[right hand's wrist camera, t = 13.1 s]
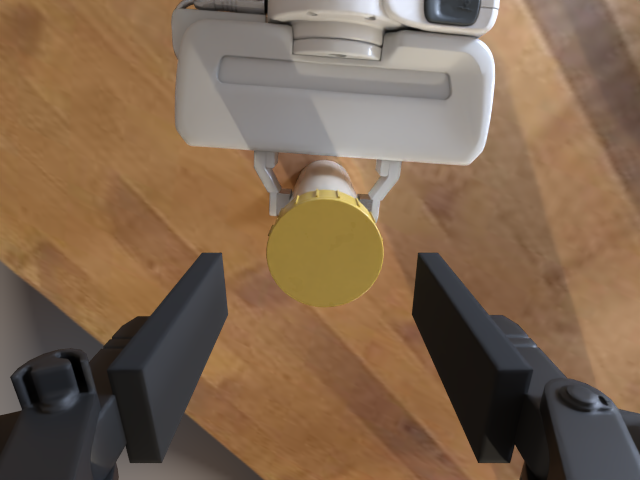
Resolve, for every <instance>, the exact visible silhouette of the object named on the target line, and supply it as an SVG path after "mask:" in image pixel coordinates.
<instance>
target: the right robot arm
mask: <svg viewBox="0 0 640 480" xmlns="http://www.w3.org/2000/svg"><path fill="white" fill-rule="evenodd" d="M227 316H228V309H227V299H226V289H225V279H224V270H223V260H222V253H202V254H201V255H200V256H199V257H198V258H197V260H196V261H195V262H194V263H193V265H192V266H191V267H190V268H189V269H188V271H187V272H186V273H185V274H184V276H183V277H182V278H181V279H180V280H179V282H178V283H177V284H176V285H175V287H174V288H173V289H172V290H171V291H170V293H169V294H168V295H167V296H166V298H165V299H164V300H163V301H162V302H161V304H160V305H159V306H158V307H157V309H156V310H155V311H154V312H153V313H152V315H151V316H137V317H136V318H134V319H133V320H131V321H129V322H128V323H126V324H125V325H123V326H122V327H121V328H120V329H119V330H118V331H117V332H116V333H115V334H114V336H113V337H112V339H110V340H109V341H108V342H107V343H106V344H105V345H104V348H103V349H101V350H100V351H99V352H98V353H97V354H96V355H95V356H94V357H93V359H92V360H91V361H90V362H89V361H88V357H87V354H86V353H85V352H83V351H82V350H79V349H72V348H70V349H60V350H56V351H52V352H49V353H45V354H42V355H40V356H38V357H36V358H34V359H32V360H30V361H28V362H27V363H25V364H24V365H22V366H21V367H19V368H18V369H17V370H16V371H15V372H14V373H13V375H12V376H11V377H10V378H11V380H12V383H13V386H14V389H15V391H16V394H17V397H18V399H19V402H20V405H21V408H22V411H18V412H14V413H9V414H5V415H0V480H118V478H119V476H118V469H117V465H116V461H117V459H118V457H119V456H120V454H121V452H122V450H123V449H124V447H125V445H126V449H127V453H128V457H129V461H130V463H162V461H163V459H164V457H165V454H166V452H167V450H168V448H169V445H170V443H171V441H172V439H173V436H174V434H175V432H176V430H177V428H178V425H179V423H180V421H181V419H182V416H183V414H184V412H185V410H186V407H187V405H188V403H189V401H190V398H191V396H192V394H193V392H194V390H195V387H196V385H197V383H198V381H199V378H200V376H201V374H202V372H203V369H204V367H205V365H206V363H207V360H208V358H209V356H210V354H211V351H212V349H213V347H214V345H215V343H216V340H217V338H218V336H219V334H220V331H221V329H222V327H223V325H224V322H225V320H226V318H227ZM412 316H413V318H414V320H415V322H416V325H417V327H418V329H419V331H420V334H421V336H422V338H423V340H424V343H425V345H426V347H427V349H428V351H429V354H430V356H431V358H432V360H433V363H434V365H435V367H436V369H437V372H438V374H439V376H440V378H441V381H442V383H443V385H444V387H445V390H446V392H447V394H448V396H449V398H450V401H451V403H452V405H453V407H454V410H455V412H456V414H457V416H458V419H459V421H460V423H461V425H462V428H463V430H464V432H465V434H466V437H467V439H468V441H469V443H470V445H471V448H472V450H473V452H474V454H475V457H476V459H477V461H478V463H510V461H511V457H512V453H513V449H514V445H516V447H517V449H518V450H519V452H520V454H521V456H522V457H523V459H524V465H523V468H522V472H521V476H520V480H640V414H638V413H634V412H629V411H625V410H621V409H618V408H617V407H616V406H615V404H614V403H613V401H612V400H611V399H610V398H608V397H607V396H606V395H605V394H603V393H602V392H601V391H599V390H597V389H596V388H594V387H592V386H590V385H588V384H586V383H583V382H580V381H576V380H573V379H567V378H566V377H565V375H564V374H563V373H562V372H561V371H560V370H559V369H558V368H557V367H556V366H555V365H554V363H553V362H552V361H551V360H550V359H549V358H548V357H547V356H546V355H545V354H544V353H543V351H542V350H541V349H540V348H537V345H536V344H535V343H534V342H533V341H532V339H531V338H528V335H527V334H526V333H525V332H524V331H523V330H522V329H521V327H520V326H519V325H518V324H516V323H514V322H513V321H511V320H510V319H508V318H506V317H505V316H503V315H488V313H487V312H486V311H485V310H484V309H483V307H482V306H481V305H480V304H479V302H478V301H477V300H476V299H475V298H474V296H473V295H472V294H471V293H470V291H469V290H468V289H467V288H466V287H465V285H464V284H463V283H462V282H461V280H460V279H459V278H458V277H457V276H456V274H455V273H454V272H453V271H452V269H451V268H450V267H449V266H448V265H447V263H446V262H445V261H444V260H443V258H442V257H441V256H440V255H439V254H438V253H418V260H417V270H416V279H415V289H414V299H413V309H412Z"/></svg>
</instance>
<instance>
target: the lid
mask: <svg viewBox="0 0 640 480" xmlns="http://www.w3.org/2000/svg"><path fill="white" fill-rule="evenodd" d="M375 222H376V221H375V219H374V217H373V215H372V213H371V212H368V210H367V209H366V208H365V207H364V205H363V204H361V203H360V202H359V201H358V198H353V197H352V196H350V195H348V194H345V193H343V192H339V190H337V191H335V190H318V189H316V190H315V191H310V192H307V193H304V194H302V195H300V196H298V195H297V196H296V198H295V199H293V200H292V201H290V202H289V203H288V204H287V205H286V206H285V207H284V208H281V210H280V213H279V215H278V217H277V219H276V222H275V224H274V225H272V227H271V229H270V232H269V234H268V236H269V239H268V243H267V250H266V252H267V254H266V256H267V263H268V267H269V270H270V273H271V275H272V277H273V279H274V280H275V282H276V284H277V285H278V286H279V287H280V288H281V289H282V290H283V291H284V292H285V293H286V294H287V295H289V296H290V297H291V298H293V299H295V300H297V301H299V302H301V303H303V304H306V305H310V306H315V307H335V306H340V305H343V304H346V303H349V302H351V301H353V300H355V299H357V298H358V297H360V296H361V295H363V294H364V293H365V292H366V291H367V290H368V289H369V288H370V287H371V286H372V284H373V283H374V282H375V280H376V278H377V277H378V275H379V272H380V270H381V267H382V263H383V255H384V254H383V243H382V241H383V239H382V237H381V234H380V232H379V230H378V229H377V227H376V224H375Z"/></svg>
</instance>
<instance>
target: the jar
mask: <svg viewBox="0 0 640 480" xmlns="http://www.w3.org/2000/svg"><path fill="white" fill-rule="evenodd" d="M316 189H318V190H335V191H337V190H339V192H343V193H345V194H348V195H350V196H352V197H353V198H358V197H357V195H356V192H355V190H354V188H353V185H352V183H351V180H350V178H349V175H348V173H347V172H346V170H345V169H344V168H343V167H342V166H340V165H339V164H337V163H335V162H333V161H329V160H319V161H315V162H312V163H310V164H309V165H307V166H306V167H305V168H304V169H303V170H302V171H301V173H300V175H299V177H298V179H297V182H296V185H295V188H294V190H293V193H292V196H291V199H290V201H292V200H293V199H295V198H296V196H297V195H298V196H300V195H302V194H304V193H307V192H310V191H315V190H316ZM290 201H289V202H290ZM358 201H359V200H358Z"/></svg>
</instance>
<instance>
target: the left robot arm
mask: <svg viewBox="0 0 640 480" xmlns="http://www.w3.org/2000/svg"><path fill="white" fill-rule="evenodd" d="M193 4H194V6H195V8H196V9H198V10H196V9H185V8H187V7H188V6H190V5H193ZM498 9H499V0H182V1H181V2H180V3H179V4H178V5H177V7H176V8H175V10H174V11H173V14H172V20H171V24H172V40H173V48H174V52H175V55H176V57H177V59H178V64H177V74H176V87H175V126H176V130H177V132H178V133H179V134H180V136H181V137H182V138H183V140H184V141H185V142H186V143H187V144H188V145H190V146H200V147H214V148H227V149H241V150H254V168H255V170H256V172H257V174H258V175H259V177H260V179H261V181H262V183H263V184H264V186H265V188H266V190H267V191H268V192H269V193H270V205H269V213H270V216H278V215H279V213H280V210H281V208H284V207H285V206H286V205H287V204H288V203H289V201H290V199H291V196H292V189H284V188H281V186H280V184H279V182H278V180H277V178H276V176H275V174H274V172H273V170H272V168H274V166H275V165H276V164H277V163H278V152H283V153H297V154H311V155H325V156H338V157H352V158H366V159H377V161H376V171H377V172H378V173H379V174H380V175H381V176H380V178H379V179H378V180H377V182H376V183H375V185H374V186H373V187H372V189H371V190H370V192H369V193H368V194H357V197H358V200H359V202H360V203H361V204H363V205H364V207H365V208H366V209H367V210H368V212H371V213H372V215H373V217H374V219H375V221H376V222H377V220H378V213H379V205H380V200H383V198H384V197H385V196H386V194H387V193H388V192H389V191H390V189H391V188H392V187H393V185H394V184H395V183H396V182H397V180H398V179H399V177H400V170H401V163H402V161H408V162H422V163H435V164H449V165H464V166H466V165H469V164H470V163H471V162H473V161H474V160H475V159H476V158H477V157H478V156H479V155H480V154H481V153H482V151H483V149H484V146H485V143H486V139H487V134H488V129H489V124H490V118H491V111H492V103H493V94H494V83H495V65H494V60H493V56H492V53H491V51H490V50H489V48H488V47H487V46H486V44H485V43H483V42H482V41H481V40H479V39H477V38H479V37H481V36H482V35H484V34H485V33H487V32H488V31H489V30H490V29H491V28H492V27H493V25H494V23H495V21H496V18H497V14H498ZM222 11H226V12H222ZM266 15H267V16H266ZM267 22H268V23H267ZM376 222H375V223H376Z"/></svg>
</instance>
